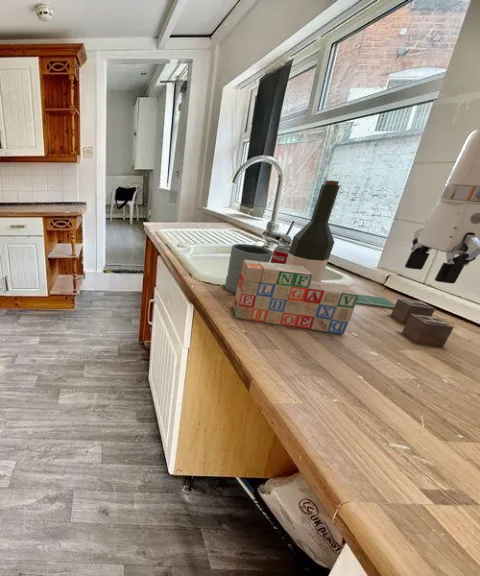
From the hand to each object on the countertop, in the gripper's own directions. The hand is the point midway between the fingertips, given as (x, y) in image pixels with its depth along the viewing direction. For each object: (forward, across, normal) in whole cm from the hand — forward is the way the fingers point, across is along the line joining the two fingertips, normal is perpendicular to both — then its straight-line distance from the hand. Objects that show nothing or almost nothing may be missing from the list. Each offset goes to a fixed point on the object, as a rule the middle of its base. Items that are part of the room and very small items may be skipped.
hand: (427, 274), depth 68 cm
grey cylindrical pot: (+12, +6, +35) cm, 38 cm away
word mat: (+12, +11, +3) cm, 16 cm away
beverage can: (+12, +12, +25) cm, 31 cm away
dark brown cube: (+12, 0, -1) cm, 12 cm away
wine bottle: (+12, +2, +23) cm, 26 cm away
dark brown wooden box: (+12, -10, +2) cm, 15 cm away
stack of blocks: (+12, -11, +29) cm, 33 cm away
